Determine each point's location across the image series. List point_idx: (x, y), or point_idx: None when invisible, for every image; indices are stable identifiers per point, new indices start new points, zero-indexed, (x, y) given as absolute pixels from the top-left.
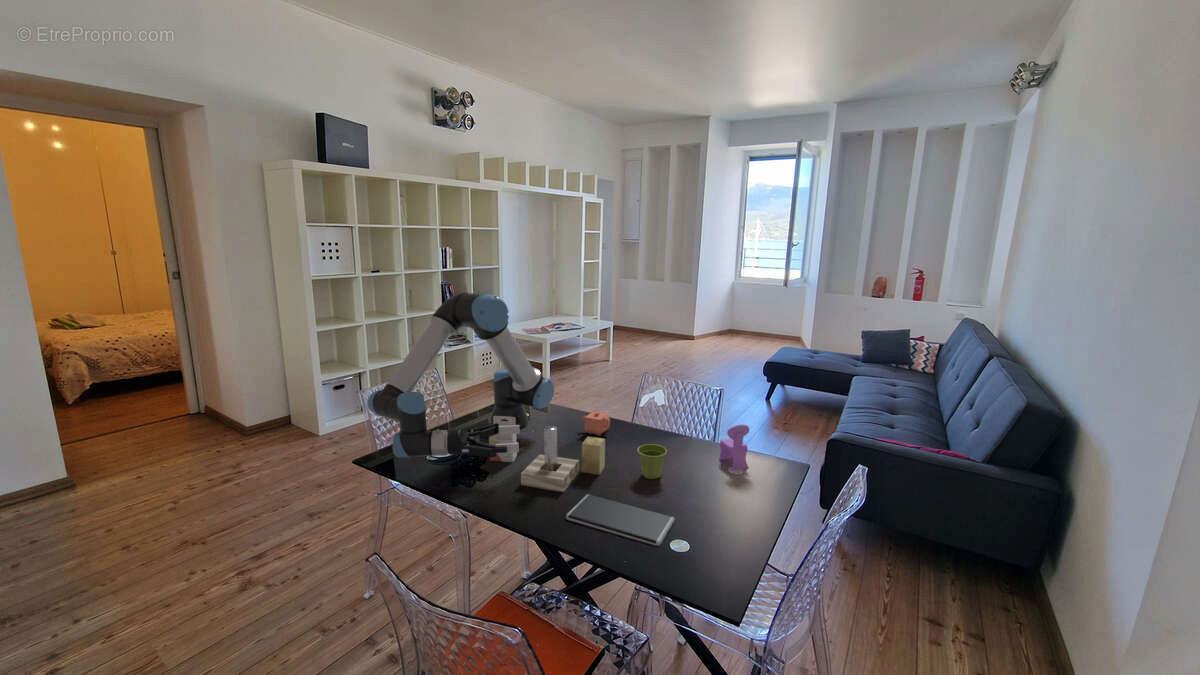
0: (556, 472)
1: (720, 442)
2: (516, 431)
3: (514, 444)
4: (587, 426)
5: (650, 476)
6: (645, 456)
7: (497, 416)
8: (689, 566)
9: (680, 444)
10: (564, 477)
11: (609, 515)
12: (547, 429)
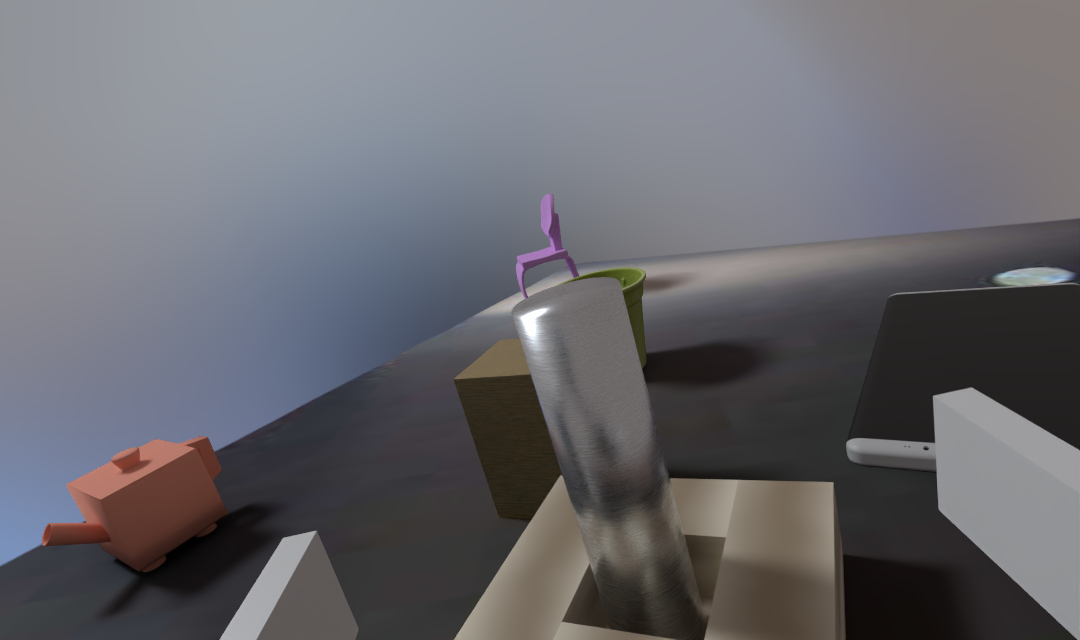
0: (738, 531)
1: (524, 268)
2: (332, 633)
3: (1017, 423)
4: (143, 532)
5: (645, 355)
6: (635, 288)
7: None
8: None
9: (424, 363)
10: (797, 485)
11: (1006, 366)
12: (585, 298)
